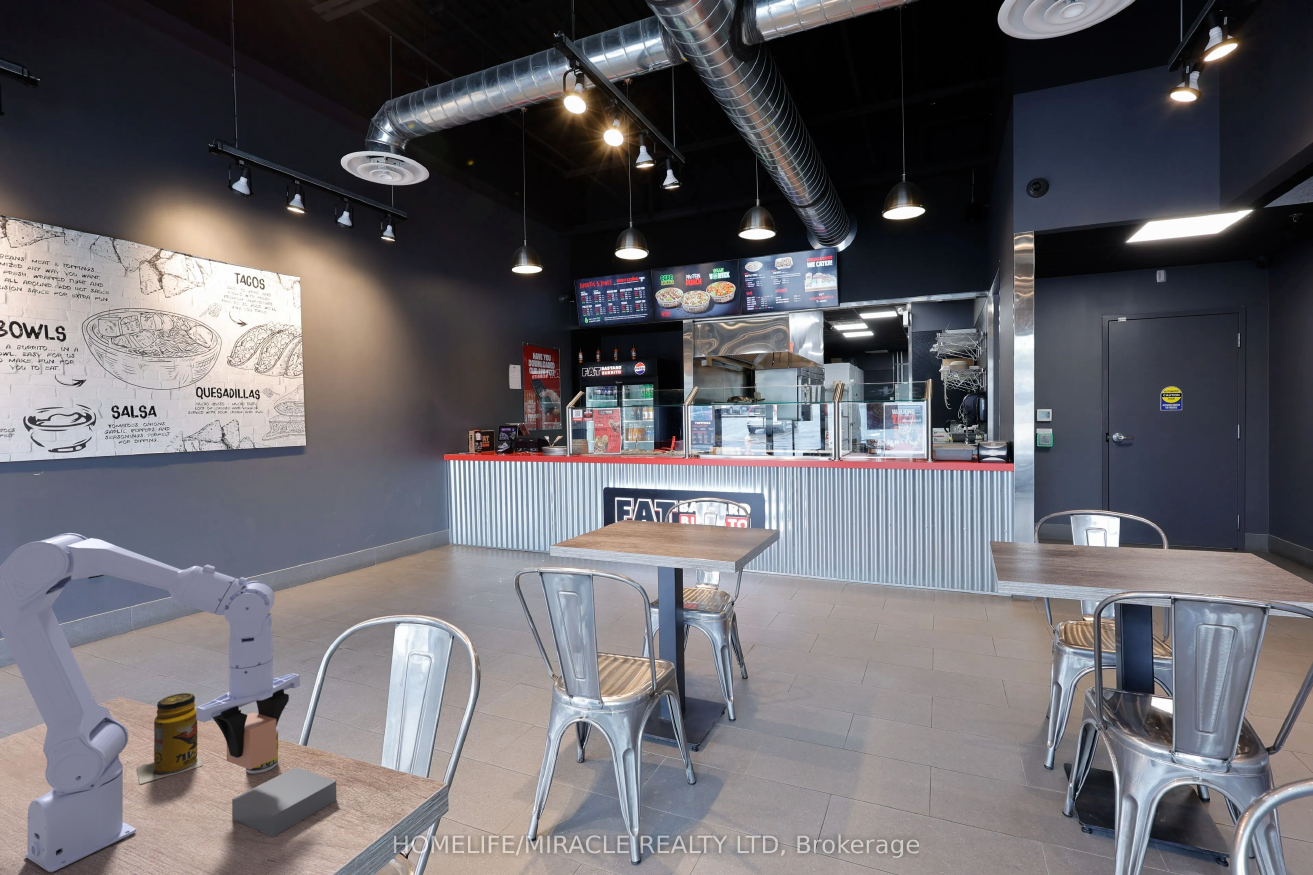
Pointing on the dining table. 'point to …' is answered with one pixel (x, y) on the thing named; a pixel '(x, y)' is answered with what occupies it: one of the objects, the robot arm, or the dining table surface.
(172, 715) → the condiment
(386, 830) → the dining table surface
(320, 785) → the base brick
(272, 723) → the top brick
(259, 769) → the supplement bottle
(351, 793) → the dining table surface
